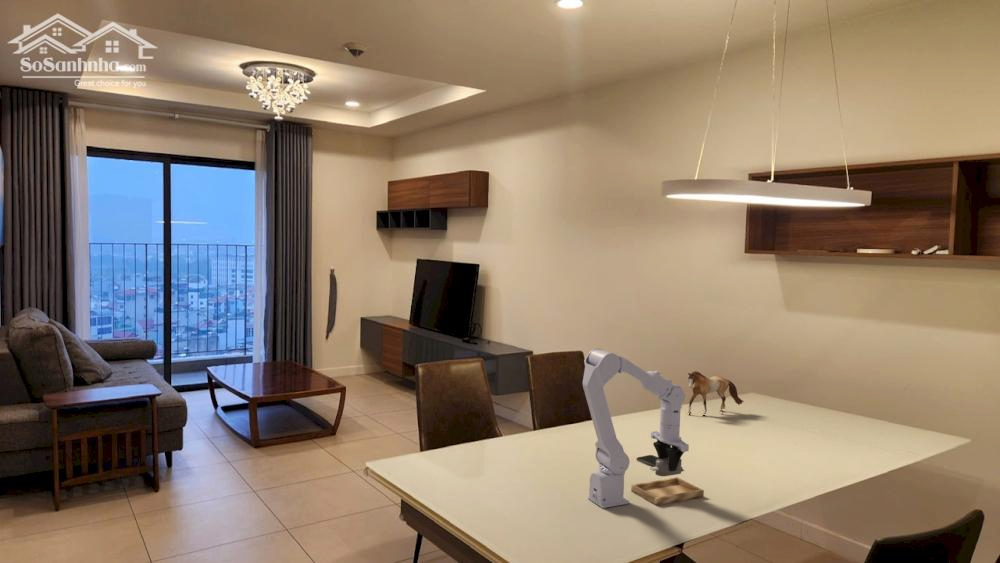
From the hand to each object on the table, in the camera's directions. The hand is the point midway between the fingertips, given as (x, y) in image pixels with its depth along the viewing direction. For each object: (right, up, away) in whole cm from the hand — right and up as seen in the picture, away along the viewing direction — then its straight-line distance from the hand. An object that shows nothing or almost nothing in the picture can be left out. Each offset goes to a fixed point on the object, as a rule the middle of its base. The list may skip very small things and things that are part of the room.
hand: (668, 468), depth 187 cm
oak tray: (0, -8, 0) cm, 8 cm away
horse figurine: (+47, -5, +95) cm, 106 cm away
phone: (+4, -7, +27) cm, 28 cm away
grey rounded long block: (0, -2, 0) cm, 2 cm away
